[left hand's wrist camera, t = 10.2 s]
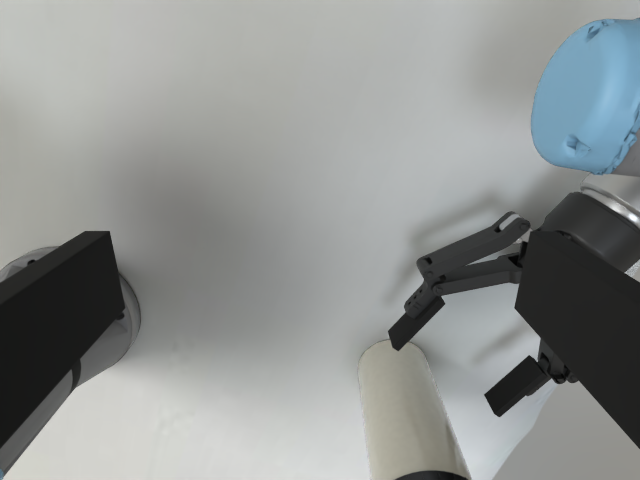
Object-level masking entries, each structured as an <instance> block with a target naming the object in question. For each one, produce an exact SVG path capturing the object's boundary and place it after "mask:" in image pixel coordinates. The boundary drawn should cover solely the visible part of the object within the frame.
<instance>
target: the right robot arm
mask: <svg viewBox="0 0 640 480" xmlns="http://www.w3.org/2000/svg"><path fill="white" fill-rule="evenodd" d="M531 133H532V138H533V142H534V145H535V147H536V149H537V151H538V153H539V154H540V155H541V156H542V158H544V159H545V160H546V161H548V162H549V163H551V164H553V165H556V166H560V167H565V168H571V169H578V170H584V171H589V172H591V173H590V174H589V175H588V176H587V177H586V178H585V179H584V180H583V181H582V182H581V183H580V186H581V190H582V192H581V193H580V192H574V193H570V194H569V195H568V196H567V197H566V198H565V199H564V200H563V201H562V202H561V203H560V204H559V205H558V206H557V207H556V208H555V209H554V210H553V211H552V212H551V213H550V214H549V215H548V216H547V217H546V218H545V222H544V224H543V225H542V226H541V227H540V228H538V229H537V230H534V231H555V232H557V233H559V234H560V235H562V236H564V237H565V238H567V239H569V240H570V241H572V242H574V243H575V244H577V245H579V246H580V247H582V248H584V249H585V250H587V251H589V252H590V253H592V254H593V255H595V256H597V257H598V258H600V259H602V260H603V261H605V262H607V263H608V264H610V265H612V266H613V267H615V268H617V269H618V270H620V271H622V272H623V273H625V272H626V271H627V270H628V269H629V268H630V267H631V266H632V265H634V264H635V263H636V262H637V261H638V260H639V259H640V18H637V19H635V20H618V19H603V20H597V21H593V22H591V23H589V24H586V25H584V26H583V27H581V28H580V29H578V30H577V31H575V32H574V33H573V34H572V35H571V36H569V37H568V38H567V39H566V40H565V41H564V43H563V44H562V45H561V46H560V47H559V48H558V50H557V51H556V52H555V54H554V55H553V57H552V58H551V60H550V61H549V63H548V65H547V67H546V68H545V70H544V72H543V75H542V77H541V79H540V82H539V84H538V87H537V90H536V94H535V97H534V104H533V110H532V115H531ZM530 231H533V230H532V229H531V228H530V223H529V221H527V220H526V219H524V218H523V217H521V216H520V215H518V214H516V213H515V212H508V213H506V214H505V215H504V216H503V217H502V218H500V219H499V220H498V221H497V222H496V223H495V224H494V225H492V226H491V227H489V228H487V229H484V230H482V231H480V232H478V233H475V234H473V235H471V236H469V237H466V238H464V239H462V240H459V241H457V242H455V243H453V244H450V245H448V246H446V247H444V248H441V249H439V250H437V251H435V252H432V253H430V254H428V255H426V256H423V257H421V258H419V259H418V260H417V263H416V264H417V267H418V269H419V271H420V273H421V274H422V276H423V278H424V282H423V284H422V285H421V286H420V287H419V288H418V289H417V290H416V292H415V293H414V294H413V295H412V296H411V297H410V298H409V299H408V300H407V301H406V303H405V305H404V308H405V311H406V313H405V314H404V315H403V316H402V317H401V318H400V319H399V320H398V321H397V322H396V323H395V324H394V325H393V327H392V328H391V329H390V330H389V331H388V333H389V337H390V341H391V344H392V348H394V349H395V350H397V351H399V350H400V349H401V348H402V347H403V346H404V345H405V344H406V343H407V342H408V341H409V340H410V339H411V338H412V337H413V336H414V335H415V334H416V333H417V332H418V331H419V330H420V329H421V328H422V327H423V326H424V325H425V324H426V323H427V322H428V321H429V320H430V319H431V318H432V317H433V316H434V315H435V314H436V313H437V312H438V311H439V310H440V309H441V308H442V307H443V306H444V305H445V303H444V301H443V299H442V297H441V296H442V295H447V294H453V293H458V292H463V291H468V290H473V289H478V288H483V287H488V286H493V285H498V284H503V283H508V282H510V283H514V284H519V283H520V279H521V274H522V269H523V264H524V259H525V254H526V250H527V245H528V240H529V235H530ZM520 243H521V247H520V252H517V253H512V254H507V255H502V256H499V257H498V259H496V260H491V261H486V262H481V263H476V264H471V265H467V264H470V263H472V262H474V261H477V260H479V259H481V258H484V257H486V256H488V255H491V254H493V253H495V252H498V251H500V250H502V249H504V248H506V247H508V246H509V245H511V244H520ZM465 265H466V266H465ZM551 378H552V379H553V380H554V382H555V383H557V384H562V383H564V382H565V381H566V380H567V381H568V382H570V383H575V382H577V381H578V379H577V378H576V377H575V376H574V374H573V373H572V372H571V371H570V370H569V369H568V368H567V367H566V365H565V364H564V363H563V362H562V361H561V360H560V359H559V358H558V356H557V355H556V354H555V353H554V352H553V351H552V350H551V349H550V347H549V346H548V345H547V344H546V343H545V342H544V341H543V340H542V338H541V340H540V347H539V353H538V362H536V360H535V359H534V358H532V357H531V356H530V355H529V356H528V357H527V358H525V359H524V360H523V361H522V362H521V363H520V364H519V365H517V366H516V367H515V368H514V369H513V370H512V371H511V372H509V373H508V374H507V375H506V376H505V377H504V378H503V379H501V380H500V381H499V382H498V383H497V384H496V385H495V386H494V387H492V388H491V389H490V390H489V391H488V392H487V393H486V394H484V395H485V397H486V399H487V401H488V403H489V405H490V407H491V409H492V411H493V412H494V414H495V415H497V416H498V417H501V416H502V415H503V414H504V413H505V412H506V411H508V410H509V409H510V408H511V407H512V406H514V405H515V404H516V403H517V402H518V401H520V400H521V399H522V398H523V397H524V396H525V395H526V396H529V395H532V394H533V393H534V392H536V390H538V389H539V388H540V387H542V386H543V385H544V384H545V383H546V382H548V381H549V380H550V379H551Z"/></svg>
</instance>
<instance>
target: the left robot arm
mask: <svg viewBox="0 0 640 480" xmlns="http://www.w3.org/2000/svg"><path fill="white" fill-rule="evenodd" d="M515 309H516V310H517V311H518V313H519V314H520V315H521V316H522V317H523V318H524V319H525V320H526V322H527V323H528V324H529V325H530V326H531V327H532V328H533V329H534V331H535V332H536V333H537V334H538V335H539V336H540V337H541V338H542V340H543V341H544V342H545V343H546V344H547V345H548V346H549V347H550V349H551V350H552V351H553V352H554V353H555V354H556V355H557V356H558V358H559V359H560V360H561V361H562V362H563V363H564V364H565V365H566V367H567V368H568V369H569V370H570V371H571V372H572V373H573V374H574V376H575V377H576V378H577V379H578V380H579V381H580V382H581V383H582V385H583V386H584V387H585V388H586V389H587V390H588V391H589V392H590V394H591V395H592V396H593V397H594V398H595V399H596V400H597V401H598V403H599V404H600V405H601V406H602V407H603V408H604V409H605V410H606V412H607V413H608V414H609V415H610V416H611V417H612V418H613V419H614V421H615V422H616V423H617V424H618V425H619V426H620V427H621V428H622V430H623V431H624V432H625V433H626V434H627V435H628V436H629V437H630V439H631V440H632V441H633V442H634V443H635V444H636V445H637V446H638V448H639V449H640V282H638V281H636V280H635V279H633V278H632V277H630V276H628V275H627V274H625V273H623V272H622V271H620V270H618V269H617V268H615V267H613V266H612V265H610V264H608V263H607V262H605V261H603V260H602V259H600V258H598V257H597V256H595V255H593V254H592V253H590V252H589V251H587V250H585V249H584V248H582V247H580V246H579V245H577V244H575V243H574V242H572V241H570V240H569V239H567V238H565V237H564V236H562V235H560V234H559V233H557V232H555V231H530V235H529V240H528V245H527V250H526V254H525V259H524V264H523V269H522V274H521V279H520V284H519V288H518V293H517V298H516V303H515ZM139 327H140V311H139V306H138V303H137V300H136V298H135V295H134V293H133V292H132V290H131V288H130V287H129V285H128V284H127V282H126V281H125V280H124V279H123V278H122V276H121V275H120V274H119V273H118V269H117V264H116V259H115V254H114V250H113V245H112V240H111V235H110V231H85V232H83V233H81V234H80V235H78V236H76V237H75V238H73V239H71V240H70V241H68V242H66V243H65V244H63V245H61V246H60V247H47V248H41V249H37V250H34V251H31V252H29V253H27V254H25V255H23V256H21V257H20V258H18V259H16V260H14V261H12V262H11V263H9V264H8V265H6V266H5V267H4V268H3V269H2V270H1V271H0V480H2V479H3V477H4V476H5V474H6V473H7V472H8V471H9V470H10V468H11V467H12V466H13V465H14V463H15V462H16V461H17V460H18V458H19V457H20V456H21V455H22V453H23V452H24V451H25V450H26V448H27V447H28V446H29V445H30V443H31V442H32V441H33V440H34V438H35V437H36V436H37V435H38V433H39V432H40V431H41V430H42V429H43V427H44V426H45V425H46V424H47V422H48V421H49V420H50V419H51V417H52V416H53V415H54V414H55V412H56V411H57V410H58V409H59V407H60V406H61V405H62V404H63V402H64V401H65V400H66V398H67V397H68V396H69V395H70V394H71V392H72V391H73V390H74V389H75V388H76V387H78V386H79V385H81V384H83V383H84V382H86V381H87V380H89V379H91V378H92V377H94V376H96V375H97V374H99V373H101V372H102V371H104V370H105V369H107V368H109V367H111V366H112V365H114V364H115V363H117V362H118V361H119V360H120V359H121V358H122V357H123V356H124V355H125V353H126V352H127V351H128V349H129V348H130V347H131V345H132V344H133V342H134V341H135V339H136V337H137V334H138V331H139Z"/></svg>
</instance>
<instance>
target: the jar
mask: <svg viewBox="0 0 640 480" xmlns="http://www.w3.org/2000/svg"><path fill="white" fill-rule="evenodd" d="M358 379H359V387H360V395H361V404H362V412H363V421H364V429H365V437H366V446H367V454H368V462H369V471H370V479H371V480H395V479H397V478H399V477H401V476H404V475H406V474H410V473H414V472H419V471H427V470H438V471H446V472H451V473H455V474H458V475H461V476H463V477H466V478H467V479H468V480H472V478H471V475H470V473H469V470H468V467H467V465H466V462H465V459H464V457H463V454H462V451H461V449H460V446H459V444H458V441H457V438H456V436H455V433H454V430H453V428H452V425H451V422H450V420H449V417H448V415H447V412H446V409H445V407H444V404H443V401H442V399H441V396H440V393H439V391H438V388H437V385H436V383H435V380H434V378H433V375H432V372H431V370H430V367H429V364H428V362H427V359H426V357H425V355H424V353H423V352H422V351H421V349H420V348H418V347H417V346H416V345H414V344H412V343H410V342H407V343H406V344H405V345H404V346H403V347H402V348H401V349H400V350H399V351H397V350H395V349H394V348H392V344H391V341H390V340H385V341H381V342H378V343H376V344H374V345H372V346H371V347H370V348H368V349H367V350H366V351H365V352H364V353H363V355H362V356H361V358H360V360H359V363H358Z"/></svg>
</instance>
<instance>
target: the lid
mask: <svg viewBox="0 0 640 480" xmlns="http://www.w3.org/2000/svg"><path fill="white" fill-rule="evenodd" d="M395 480H468V479H467V478H466V477H463V476H461V475H458V474H455V473H451V472H446V471H438V470H427V471H419V472H414V473H410V474H406V475H404V476H401V477H399V478H397V479H395Z"/></svg>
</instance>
